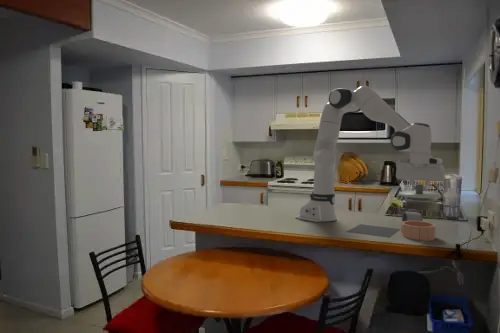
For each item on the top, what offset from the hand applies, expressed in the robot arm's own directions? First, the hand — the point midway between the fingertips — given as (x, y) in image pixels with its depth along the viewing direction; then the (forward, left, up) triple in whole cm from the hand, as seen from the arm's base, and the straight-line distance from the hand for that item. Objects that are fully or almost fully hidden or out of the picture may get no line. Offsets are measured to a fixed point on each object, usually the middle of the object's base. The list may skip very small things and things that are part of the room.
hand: (419, 190), depth 184 cm
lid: (0, 0, -2) cm, 2 cm away
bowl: (0, 0, -21) cm, 21 cm away
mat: (-20, 0, -21) cm, 29 cm away
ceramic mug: (-8, +22, -21) cm, 32 cm away
